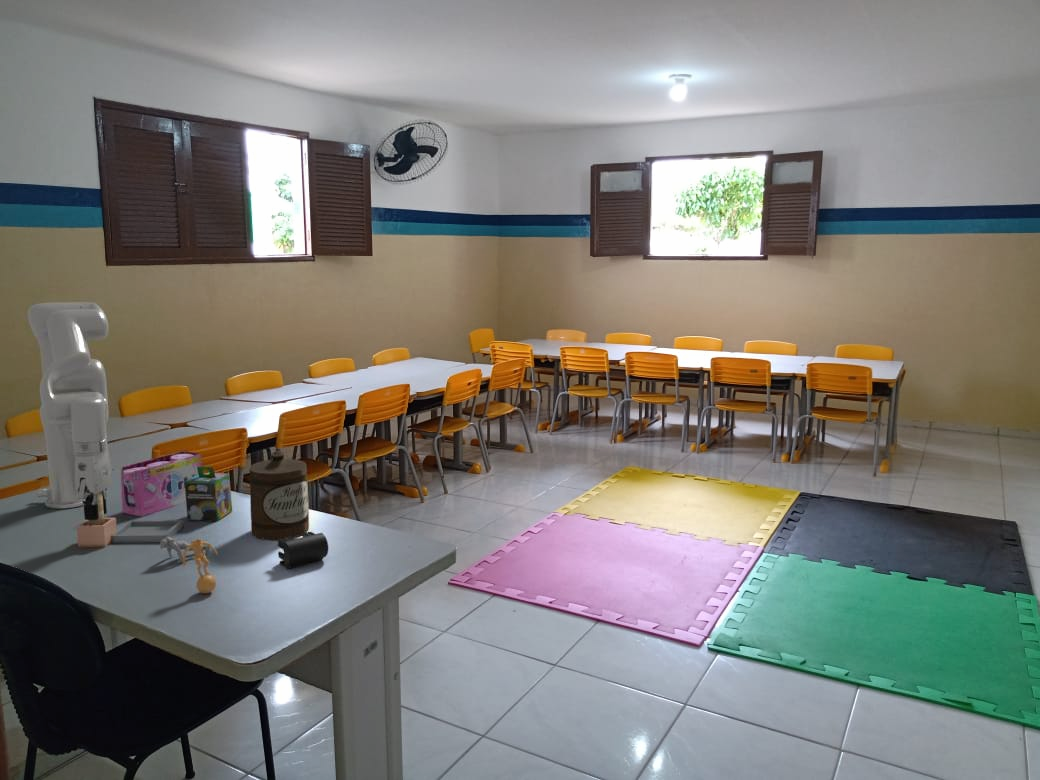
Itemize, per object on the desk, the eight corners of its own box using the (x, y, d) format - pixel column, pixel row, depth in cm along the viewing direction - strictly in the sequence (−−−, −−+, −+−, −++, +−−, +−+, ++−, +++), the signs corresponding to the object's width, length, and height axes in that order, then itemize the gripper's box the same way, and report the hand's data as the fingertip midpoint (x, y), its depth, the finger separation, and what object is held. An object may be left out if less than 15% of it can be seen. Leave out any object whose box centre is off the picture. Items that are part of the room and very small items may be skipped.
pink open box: (78, 547, 195) (76, 526, 194) (91, 538, 202) (89, 517, 201) (105, 547, 196) (103, 526, 195) (117, 538, 202) (115, 517, 201)
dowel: (86, 540, 197) (82, 483, 194) (93, 535, 200) (89, 479, 198) (101, 540, 197) (97, 483, 195) (108, 535, 201) (104, 479, 198)
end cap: (290, 573, 181) (289, 545, 180) (276, 564, 186) (275, 537, 185) (329, 562, 188) (328, 535, 187) (315, 554, 193) (314, 528, 192)
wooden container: (273, 544, 199) (270, 461, 195) (240, 532, 208) (236, 452, 204) (320, 529, 211) (318, 450, 207) (286, 518, 219) (284, 442, 216)
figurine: (195, 601, 165) (192, 547, 163) (178, 594, 168) (175, 541, 167) (228, 588, 172) (226, 536, 170) (211, 582, 175) (209, 531, 173)
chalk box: (232, 511, 225) (230, 461, 222) (217, 522, 216) (214, 470, 213) (202, 510, 226) (199, 460, 223) (185, 520, 217) (182, 469, 214)
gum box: (137, 518, 218) (134, 471, 216) (117, 514, 221) (114, 468, 219) (204, 496, 239) (201, 453, 237) (185, 492, 242) (182, 450, 240)
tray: (110, 542, 199) (109, 535, 199) (130, 526, 211) (130, 520, 210) (166, 542, 200) (165, 535, 199) (183, 526, 212) (183, 520, 211)
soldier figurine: (195, 559, 195) (149, 555, 186) (201, 538, 196) (156, 533, 186) (208, 565, 191) (162, 562, 182) (214, 544, 192) (169, 539, 182)
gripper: (89, 455, 187) (95, 527, 190) (120, 439, 203) (125, 506, 206) (57, 454, 186) (63, 528, 189) (91, 438, 203) (96, 506, 206)
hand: (95, 516), depth 198 cm, fingers closed on dowel, 3 cm apart
